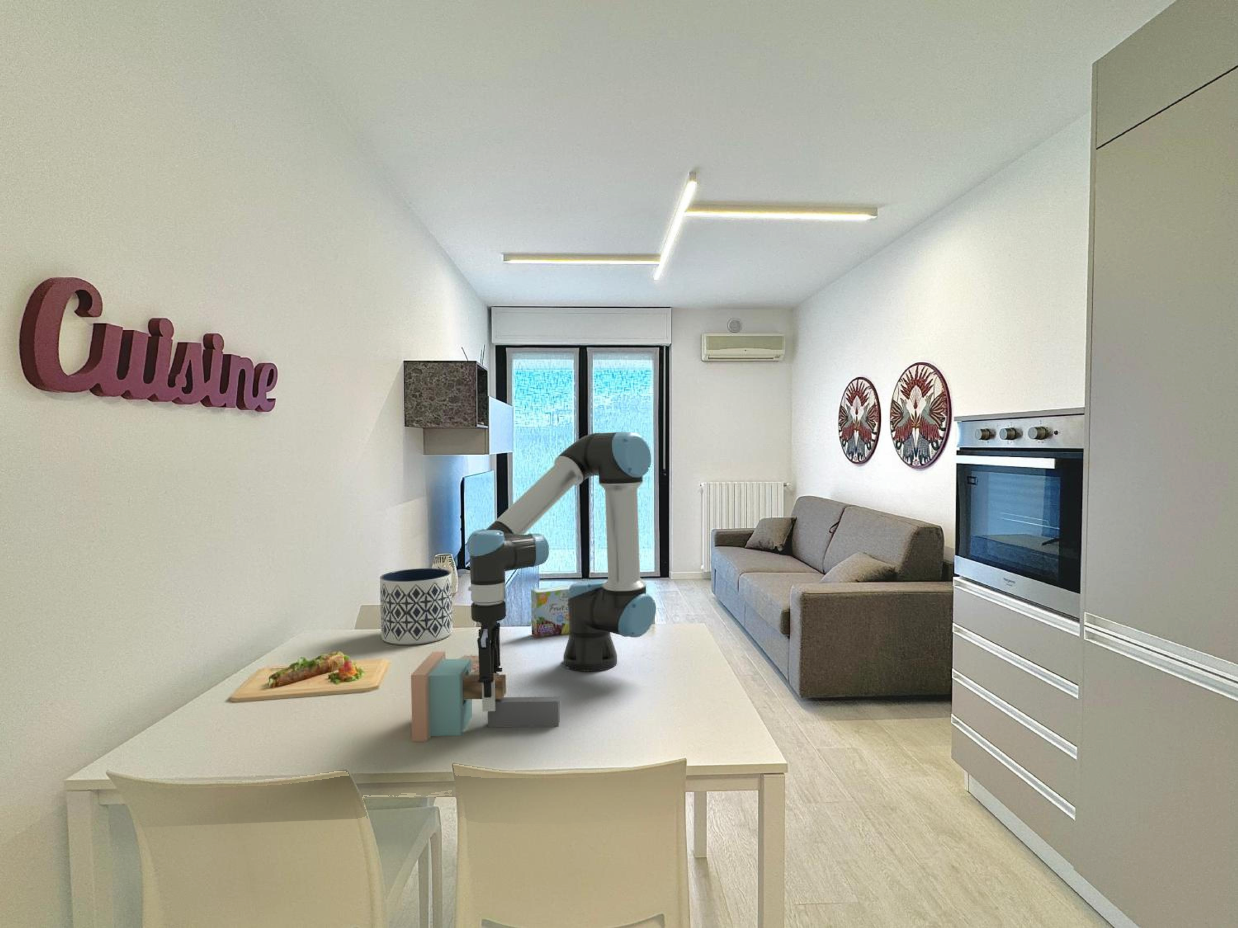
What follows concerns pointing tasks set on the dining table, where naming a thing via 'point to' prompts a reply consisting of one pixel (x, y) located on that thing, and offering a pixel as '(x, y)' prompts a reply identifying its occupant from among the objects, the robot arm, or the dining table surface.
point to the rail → (525, 712)
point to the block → (449, 698)
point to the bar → (474, 688)
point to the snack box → (550, 611)
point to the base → (422, 696)
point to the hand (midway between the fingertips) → (491, 706)
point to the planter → (416, 606)
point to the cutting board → (314, 678)
